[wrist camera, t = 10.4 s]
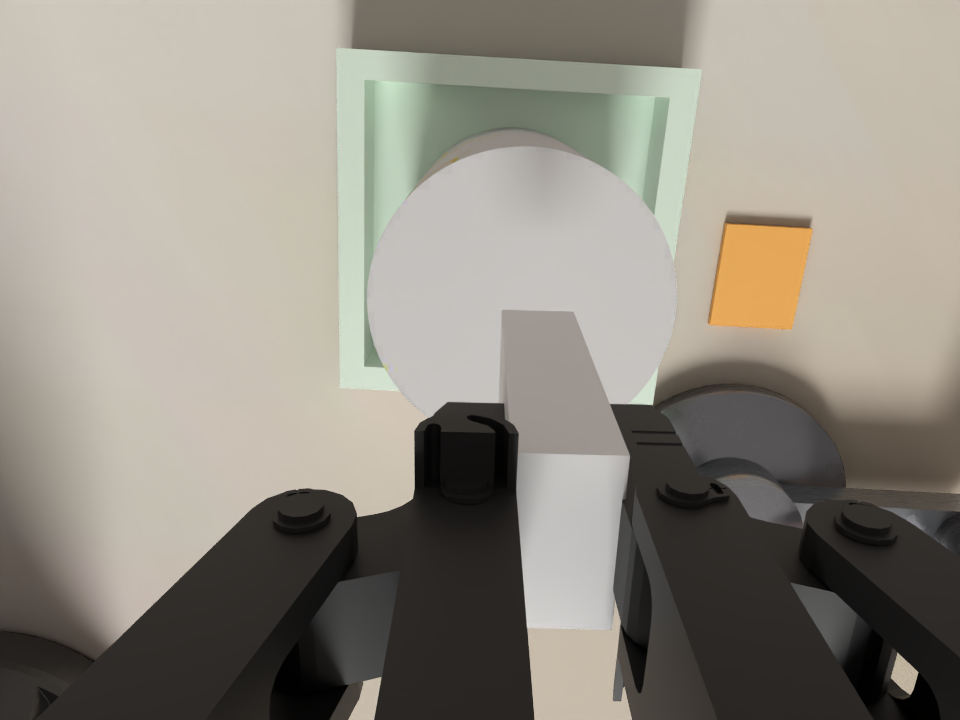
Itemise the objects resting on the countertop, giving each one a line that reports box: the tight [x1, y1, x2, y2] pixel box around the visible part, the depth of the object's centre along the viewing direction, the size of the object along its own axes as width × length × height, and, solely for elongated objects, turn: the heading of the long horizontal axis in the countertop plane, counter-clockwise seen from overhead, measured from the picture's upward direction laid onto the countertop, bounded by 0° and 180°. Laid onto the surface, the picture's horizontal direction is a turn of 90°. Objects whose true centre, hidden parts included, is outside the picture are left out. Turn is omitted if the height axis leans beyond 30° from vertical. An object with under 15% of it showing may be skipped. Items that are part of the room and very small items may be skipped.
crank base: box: [654, 384, 846, 488], centre depth 35 cm, size 11×11×1 cm
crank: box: [697, 458, 960, 557], centre depth 31 cm, size 14×5×6 cm, turn 87°
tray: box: [336, 48, 702, 405], centre depth 30 cm, size 13×13×3 cm
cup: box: [367, 127, 677, 418], centre depth 25 cm, size 8×8×12 cm
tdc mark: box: [708, 223, 813, 329], centre depth 32 cm, size 4×4×1 cm
